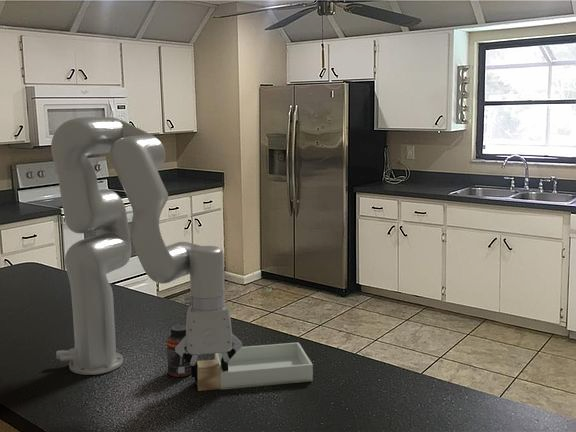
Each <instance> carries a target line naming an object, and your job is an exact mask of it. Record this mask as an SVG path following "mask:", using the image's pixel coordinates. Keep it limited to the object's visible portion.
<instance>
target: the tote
mask: <svg viewBox="0 0 576 432" xmlns="http://www.w3.org/2000/svg"><path fill="white" fill-rule="evenodd" d="M215 359H218V361H219V365H220V383H221V389H220V390H222V391H223V390H232V389H233V390H234V389H243V388H252V387H263V386H273V385H274V386H275V385H285V384H287V385H288V384H296V383H297V384H298V383H306V382H313V379H314V377H313V376H314V375H313V374H314V368H313V367H314V364H313V363H312V361H311V359H310V357H308V355H307V353H306V352H305V350H304V348H303V347H302V344H300V342H289V343H288V342H287V343H274V344H261V345H249V346H242V347H241V348H240V349H239V350H238V351H237V352H236V353H235V355H234V356H233V357H232V358H231V359H230V361H229V362H228V371H224V372H223V370H222V367H221V359H222V354H221V353H214V360H215Z"/></svg>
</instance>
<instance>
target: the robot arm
mask: <svg viewBox="0 0 576 432" xmlns="http://www.w3.org/2000/svg"><path fill="white" fill-rule="evenodd" d="M50 145H51V146H50V148H51V149H50V150H51V155H52V160H53V164H54V167H55V170H56V173H57V178H58V186H59V192H60V199H61V204H62V209H63V210H62V211H63V215H64V216H63V217H64V221H65V224H66V226H67V228H68V229H69V230H70V231H71V232H72V233H74V234H86V233H91V232H95V234H96V235H93V236H89V237H87V238H84V239H81V240H78V241H76V242H74V243H73V244H72V245H71V246H70V247H69V248H68V249H67V250H66V253H65V257H64V265H65V270H66V273H67V277H68V280H69V284H70V285H69V287H70V292H71V293H70V294H71V306H72V323H73V335H74V336H73V338H74V347H73V348H70V349H69V350H65V349H64V350H62V349H61V350H56V351H55V352H56V354H55V356H56V358H55V359H56V360H59V361H60V362H66V361H70V362H69V363H68V366H69V368H68V369H69V371H71V372H72V373H75V374H78V375H84V376H91V375H93V376H94V375H95V376H96V375H101V374H106V373H109V372H112V371H115V370H116V369H118V368H120V367H121V366H122V365H123V363H124V358H123V355H122V354H121V353H119V352H117V345H116V328H115V327H116V326H115V325H116V324H115V307H114V306H115V303H114V292H113V288H112V286H111V284H110V282H109V280H108V277H107V274H110V273H112V272H114V271H116V270H119V269H122V268H123V267H124V266H126V265H127V263H128V262H129V261H130V259H131V255H132V245H133V248H134V251H135V253H136V255H137V258H138V260H139V263H140V265H141V268H143V270H144V272H145V274H146V275H147V276H148V277H149V279H151V280H152V281H153V282H155V283H156V284H167V283H168V284H169V283H171V282H174V281H175V280H178V279H179V278H182V277H184V276H188V275H189V286H190V288H189V289H190V291H189V292H190V295H189V296H188V297H186V298H185V297H184V298H183V305H189V307H188V308H187V313H186V321H185V326H186V336H185V337H184V338H183V339H182V341H181V342H180V343H179V344H178V345H177V346H176V348H175V352H176V353H177V354H179V355H180V356H182V357H183V358H184V359H185V360H186V361H187V362H189V363H190V365H191V374H190V376H191V378H194V383H197V381H198V374H197V368H198V364H197V361H198V357H199V355H212V354H215V353H221V354H222V359H221V367H222V370H223V372H224V371H228V362H229V361H230V359H231V358H232V357H233V356H234V355H235V353H236V352H237V351H238V350H239V349H240V348H241V347H244V346H243V343H242V341H241V340H240V339H239V338H238V337H237V336H236V335H234V333H233V332H232V331H233V329H232V321H231V320H232V319H231V313H230V309H229V307H228V305H227V304H226V299H225V297H226V294H225V260H224V259H225V258H224V257H225V255H224V252H223V250H222V248H221V247H219V246H216V245H199V244H195V243H192V242H188V241H179V242H175V243H173V244H169V245H166V243H165V242H164V238H163V237H162V233H161V229H160V219H161V215H162V211H163V209H164V207H165V206H166V204H167V202H168V200H169V193H168V191H167V189H166V186H165V184H164V182H163V180H162V178H161V175H160V173H159V171H158V170H159V168H161V167H162V166H163V165H164V163H165V161H166V156H167V155H166V150H165V147H164V144H163V143H162V142H161V140H159V139H158V137H156V136H154V135H153V134H151V133H149V132H147V131H145V130H143V129H140V128H139V127H136V126H134V125H132V124H131V123H128V122H126V121H124V120H122V119H119V118H117V117H110V116H109V117H108V116H103V117H102V116H101V117H98V116H97V117H96V116H91V117H90V116H88V117H87V116H86V117H84V116H82V117H76V118H72V119H69V120H66V121H65V122H63V123H61V124H60V125H59V126H58V127H57V128H56V130H55V131H54V134H53V135H52V139H51V144H50ZM98 154H99V155H101V154H109V157H110V161H111V164H112V166H113V169H114V170H115V172H116V174H117V175H116V176H117V178H118V179H119V182H120V184H121V186H122V188H123V190H124V193H125V195H126V197H127V200H128V202H129V205H130V206H131V209H132V220H131V235H130V228H129V222H128V216H127V209H126V206H125V203H124V201H123V199H122V198H121V196H120V195H119V194H118V193H117V192H115V191H114V190H111V189H106V188H103V189H99V184H98V178H97V173H96V171H95V168H94V166H93V164H92V163H91V161H90V160H89V159H88V156H90V155H98ZM131 237H132V238H131ZM131 239H132V242H131ZM185 346H186V347H187V351H188V352H187V351H185V350H184V349H183V348H184V347H185ZM190 354H191V355H190Z"/></svg>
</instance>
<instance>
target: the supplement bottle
mask: <svg viewBox="0 0 576 432" xmlns="http://www.w3.org/2000/svg"><path fill="white" fill-rule="evenodd" d="M185 336H186V324H185V325H184V324H178V325H177V324H176V325H173V326H171V328H170V335H169V336H168V337H167V338H166V343H167V344H166V346H167V350H166V351H167V372H168V374H169V375H170V376H172V377H175V378H183V377H187V376H189V375H190V376H191V365H190V363H189V362H187V361H186V360H185V359H184V358H183V357H182V356H180V355H179V354H177V353H176V352H175V348H176V346H177V345H178V344H179V343H180V342H181V341H182V339H183V338H184V337H185ZM183 349H184V350H185V351H187V347H186V346H185V347H184V348H183ZM187 352H188V351H187ZM190 355H191V354H190Z"/></svg>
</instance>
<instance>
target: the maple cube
mask: <svg viewBox="0 0 576 432" xmlns="http://www.w3.org/2000/svg"><path fill="white" fill-rule="evenodd" d="M196 361H197V364H198V368H197V374H198V381H197V382H196V385H197V391H198V392H199V391H201V392H202V391H211V390H221V383H220V365H219V361H218V359H215V358H214V359H205V360H204V359H203V360H196Z"/></svg>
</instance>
